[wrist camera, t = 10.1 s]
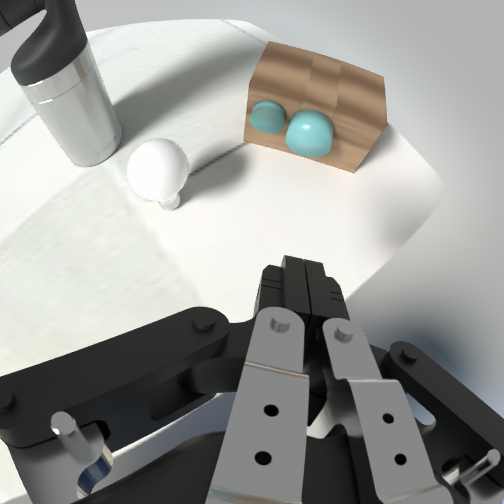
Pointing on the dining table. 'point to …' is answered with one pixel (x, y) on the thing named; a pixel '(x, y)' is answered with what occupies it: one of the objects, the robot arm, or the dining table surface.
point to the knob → (310, 133)
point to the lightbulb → (159, 171)
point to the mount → (315, 102)
